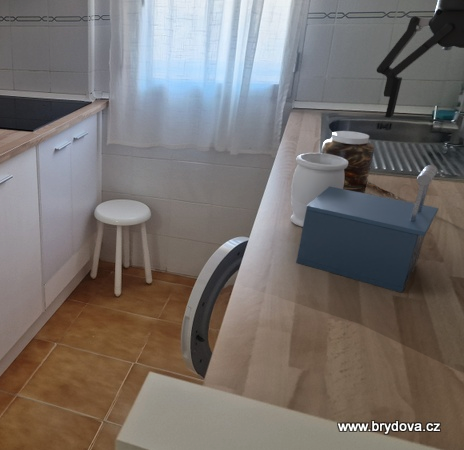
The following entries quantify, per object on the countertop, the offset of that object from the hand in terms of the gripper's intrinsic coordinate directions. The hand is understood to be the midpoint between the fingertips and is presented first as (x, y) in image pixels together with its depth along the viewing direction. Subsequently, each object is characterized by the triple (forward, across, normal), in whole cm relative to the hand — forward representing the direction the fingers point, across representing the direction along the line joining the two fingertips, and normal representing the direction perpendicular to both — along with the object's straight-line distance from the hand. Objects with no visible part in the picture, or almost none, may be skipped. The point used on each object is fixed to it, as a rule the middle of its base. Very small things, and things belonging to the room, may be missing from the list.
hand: (434, 121), depth 91 cm
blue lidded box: (+28, -6, -2) cm, 29 cm away
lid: (+17, -6, -2) cm, 18 cm away
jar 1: (+28, -20, +13) cm, 37 cm away
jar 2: (+28, -21, +40) cm, 53 cm away
